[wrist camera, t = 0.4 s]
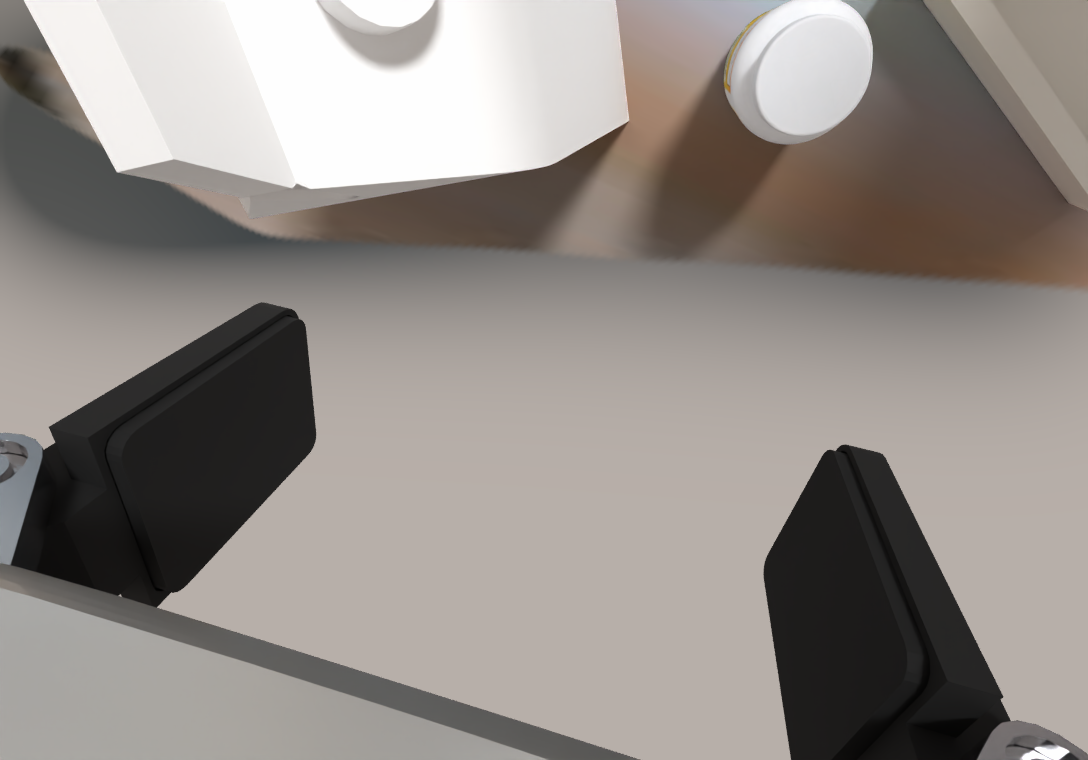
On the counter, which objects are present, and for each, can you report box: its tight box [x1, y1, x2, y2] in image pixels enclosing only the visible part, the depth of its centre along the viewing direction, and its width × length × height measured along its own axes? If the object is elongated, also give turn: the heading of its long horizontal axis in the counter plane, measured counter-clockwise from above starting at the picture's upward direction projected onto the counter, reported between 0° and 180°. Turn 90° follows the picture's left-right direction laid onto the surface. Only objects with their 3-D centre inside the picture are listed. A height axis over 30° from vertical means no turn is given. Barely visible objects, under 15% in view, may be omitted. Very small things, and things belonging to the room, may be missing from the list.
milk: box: [24, 0, 629, 219], centre depth 19 cm, size 12×12×26 cm
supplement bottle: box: [724, 0, 873, 144], centre depth 24 cm, size 5×5×10 cm
